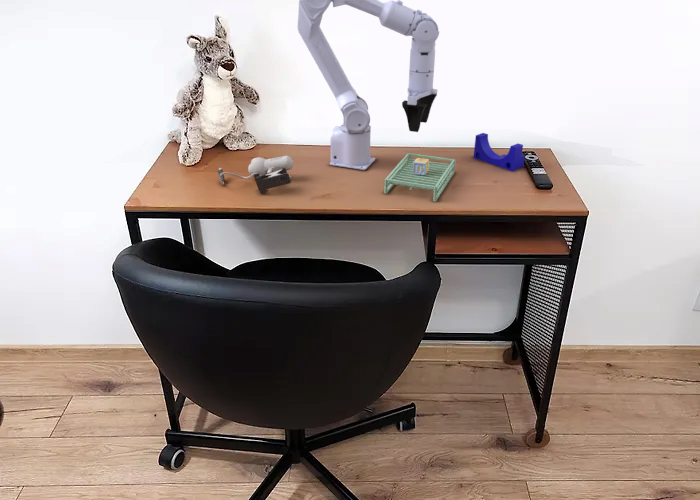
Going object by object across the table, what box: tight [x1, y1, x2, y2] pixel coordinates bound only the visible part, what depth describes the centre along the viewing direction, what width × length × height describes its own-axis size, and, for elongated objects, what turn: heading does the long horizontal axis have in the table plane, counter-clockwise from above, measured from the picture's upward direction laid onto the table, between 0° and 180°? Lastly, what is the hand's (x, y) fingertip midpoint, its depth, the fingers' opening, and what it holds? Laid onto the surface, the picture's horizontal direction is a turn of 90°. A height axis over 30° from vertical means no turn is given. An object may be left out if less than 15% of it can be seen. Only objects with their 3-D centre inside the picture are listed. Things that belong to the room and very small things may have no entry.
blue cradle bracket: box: [473, 132, 526, 172], centre depth 158 cm, size 12×4×6 cm, turn 42°
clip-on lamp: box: [217, 155, 294, 195], centre depth 145 cm, size 12×6×18 cm
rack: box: [383, 152, 456, 203], centre depth 147 cm, size 18×12×4 cm, turn 159°
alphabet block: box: [412, 157, 430, 176], centre depth 145 cm, size 3×3×3 cm
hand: (418, 126), depth 154 cm, fingers open, 7 cm apart
